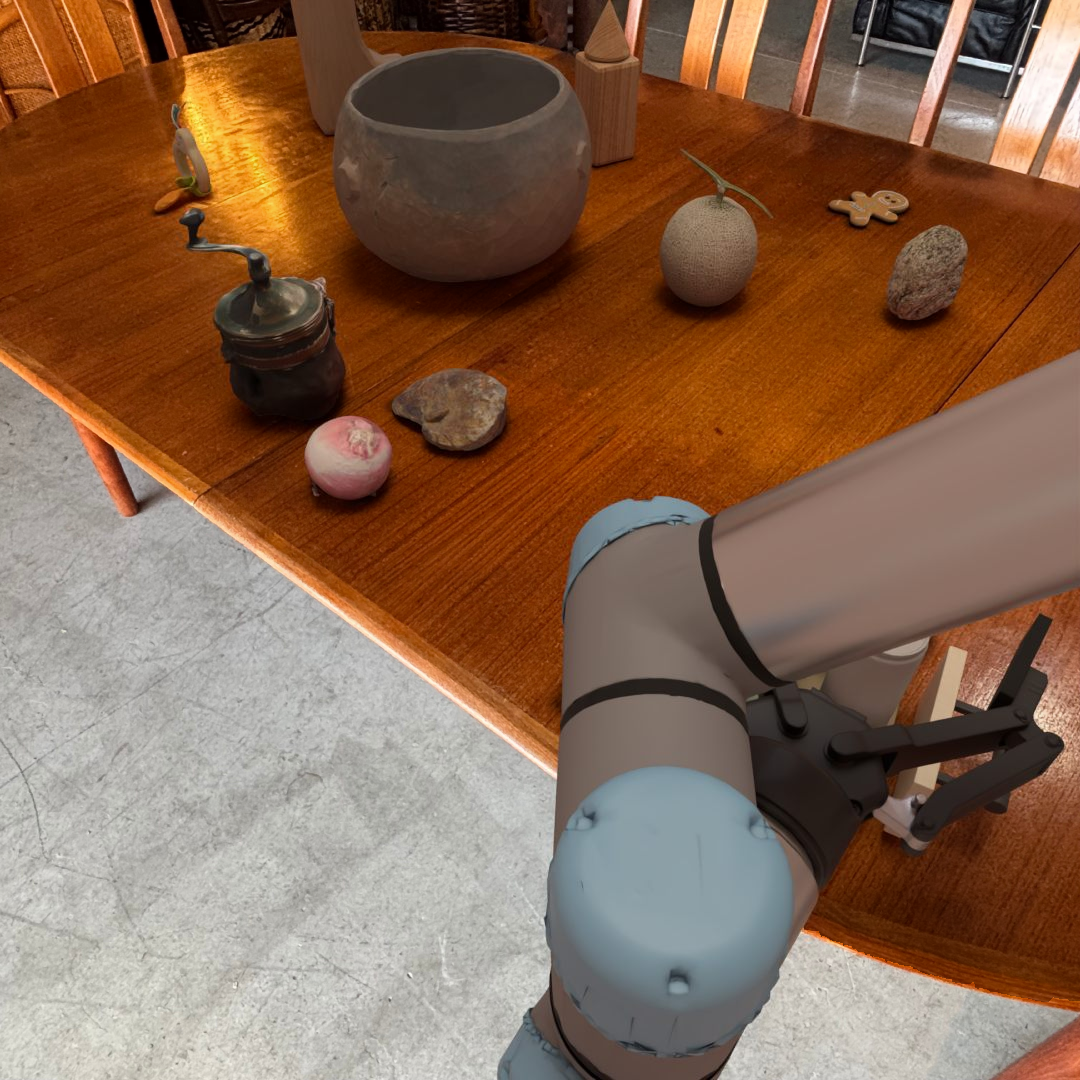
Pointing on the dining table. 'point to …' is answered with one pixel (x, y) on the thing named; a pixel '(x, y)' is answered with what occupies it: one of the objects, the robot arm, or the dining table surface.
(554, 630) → the dining table surface
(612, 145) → the decorative item
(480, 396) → the brown rock
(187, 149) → the rattle
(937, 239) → the stone
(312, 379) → the coffee grinder
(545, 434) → the dining table surface
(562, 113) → the clay pot
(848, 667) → the beverage can
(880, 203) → the cookie
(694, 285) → the fruit
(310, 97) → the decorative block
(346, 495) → the onion
